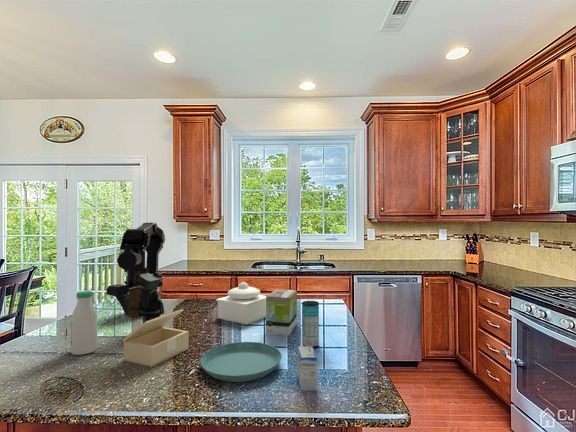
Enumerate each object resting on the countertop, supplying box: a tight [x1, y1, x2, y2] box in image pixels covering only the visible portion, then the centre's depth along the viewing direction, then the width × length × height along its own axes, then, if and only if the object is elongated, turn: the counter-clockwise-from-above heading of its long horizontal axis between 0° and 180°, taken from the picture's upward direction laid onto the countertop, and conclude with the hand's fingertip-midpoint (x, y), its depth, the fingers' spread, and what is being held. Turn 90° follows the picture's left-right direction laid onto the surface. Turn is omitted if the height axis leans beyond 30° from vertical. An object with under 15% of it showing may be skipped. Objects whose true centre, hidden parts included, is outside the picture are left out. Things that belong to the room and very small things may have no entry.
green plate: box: [200, 341, 283, 383], centre depth 101 cm, size 24×24×3 cm
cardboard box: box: [123, 326, 190, 368], centre depth 110 cm, size 12×16×6 cm
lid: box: [122, 308, 184, 342], centre depth 111 cm, size 12×16×1 cm
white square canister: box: [216, 281, 267, 326], centre depth 154 cm, size 18×18×16 cm
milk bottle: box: [70, 290, 98, 356], centre depth 114 cm, size 8×8×20 cm
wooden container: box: [125, 266, 160, 317], centre depth 161 cm, size 15×15×22 cm
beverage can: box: [301, 300, 320, 349], centre depth 118 cm, size 6×6×15 cm
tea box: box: [264, 288, 298, 336], centre depth 136 cm, size 15×10×15 cm, turn 168°
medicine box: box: [296, 346, 318, 392], centre depth 90 cm, size 8×4×9 cm, turn 5°
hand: (136, 311), depth 115 cm, fingers open, 7 cm apart
